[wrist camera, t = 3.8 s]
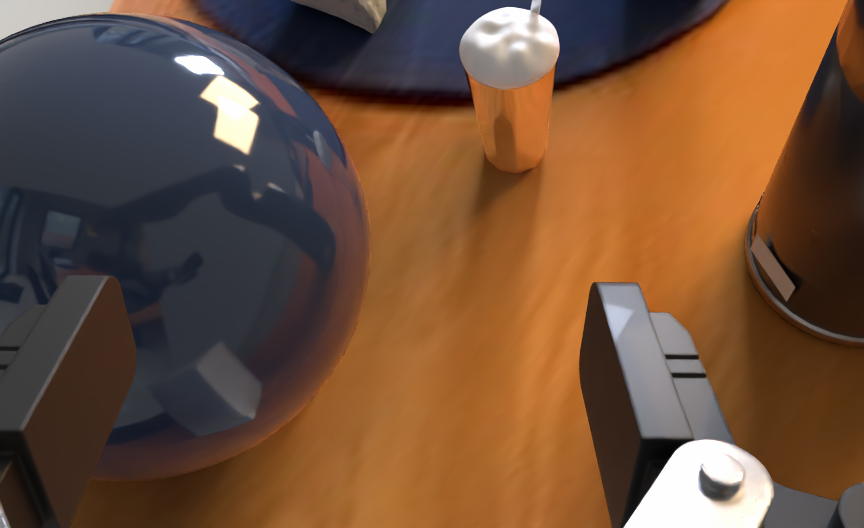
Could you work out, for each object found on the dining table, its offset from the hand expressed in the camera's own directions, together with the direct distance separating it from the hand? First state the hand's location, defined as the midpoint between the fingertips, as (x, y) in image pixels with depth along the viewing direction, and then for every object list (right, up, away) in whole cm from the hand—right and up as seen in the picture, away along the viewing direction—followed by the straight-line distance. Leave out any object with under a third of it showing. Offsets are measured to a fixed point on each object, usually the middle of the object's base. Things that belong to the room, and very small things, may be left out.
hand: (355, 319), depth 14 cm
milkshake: (+6, +7, +31) cm, 32 cm away
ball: (-9, -3, +27) cm, 29 cm away
